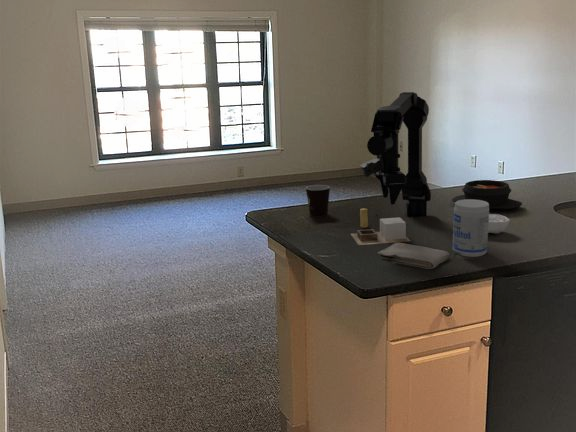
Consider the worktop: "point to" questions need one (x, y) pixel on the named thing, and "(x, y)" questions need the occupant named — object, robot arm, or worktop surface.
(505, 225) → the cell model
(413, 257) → the washcloth
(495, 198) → the casserole
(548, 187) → the worktop surface
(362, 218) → the peg
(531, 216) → the worktop surface
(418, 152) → the robot arm
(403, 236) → the grey rounded cube
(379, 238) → the board
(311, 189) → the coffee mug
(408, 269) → the worktop surface
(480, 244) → the supplement tub
